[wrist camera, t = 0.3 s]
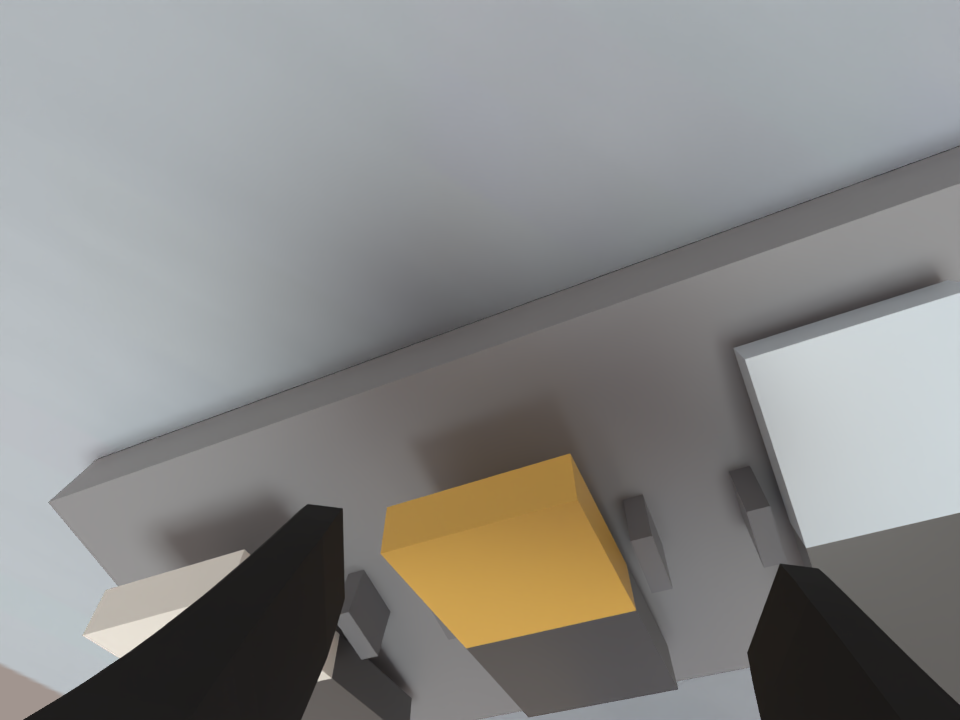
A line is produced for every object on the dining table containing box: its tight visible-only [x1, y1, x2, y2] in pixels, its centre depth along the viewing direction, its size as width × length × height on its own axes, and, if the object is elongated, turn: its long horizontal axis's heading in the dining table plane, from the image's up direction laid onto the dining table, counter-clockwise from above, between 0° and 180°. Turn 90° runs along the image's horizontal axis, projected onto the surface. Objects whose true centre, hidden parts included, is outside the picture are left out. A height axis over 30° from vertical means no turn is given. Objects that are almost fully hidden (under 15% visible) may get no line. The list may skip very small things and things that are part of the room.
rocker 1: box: [83, 549, 412, 720], centre depth 20 cm, size 10×5×1 cm, turn 24°
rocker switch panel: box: [48, 146, 960, 720], centre depth 20 cm, size 14×35×4 cm, turn 113°
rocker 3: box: [733, 280, 960, 705], centre depth 15 cm, size 10×5×1 cm, turn 22°
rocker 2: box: [380, 454, 678, 717], centre depth 18 cm, size 10×5×1 cm, turn 24°
